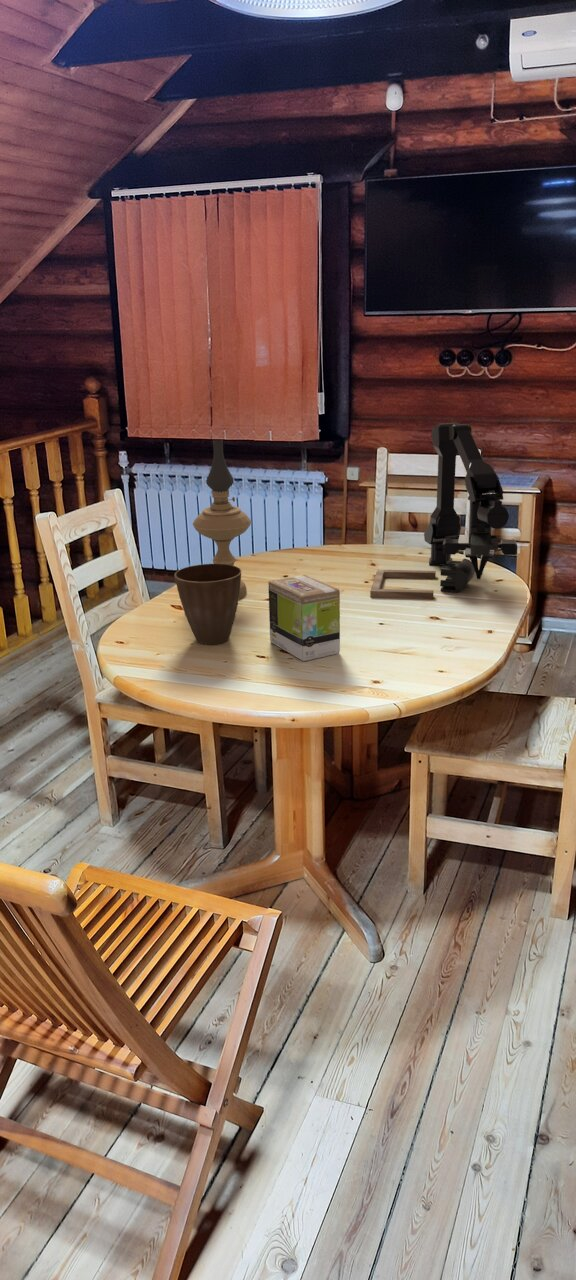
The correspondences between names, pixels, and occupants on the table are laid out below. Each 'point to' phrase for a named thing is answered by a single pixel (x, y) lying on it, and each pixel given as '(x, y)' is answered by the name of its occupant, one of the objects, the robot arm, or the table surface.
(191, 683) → the table surface
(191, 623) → the plant pot
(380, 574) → the brown u-shaped frame
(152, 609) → the table surface
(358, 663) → the table surface
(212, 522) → the oil lamp
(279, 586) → the tea box
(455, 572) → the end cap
